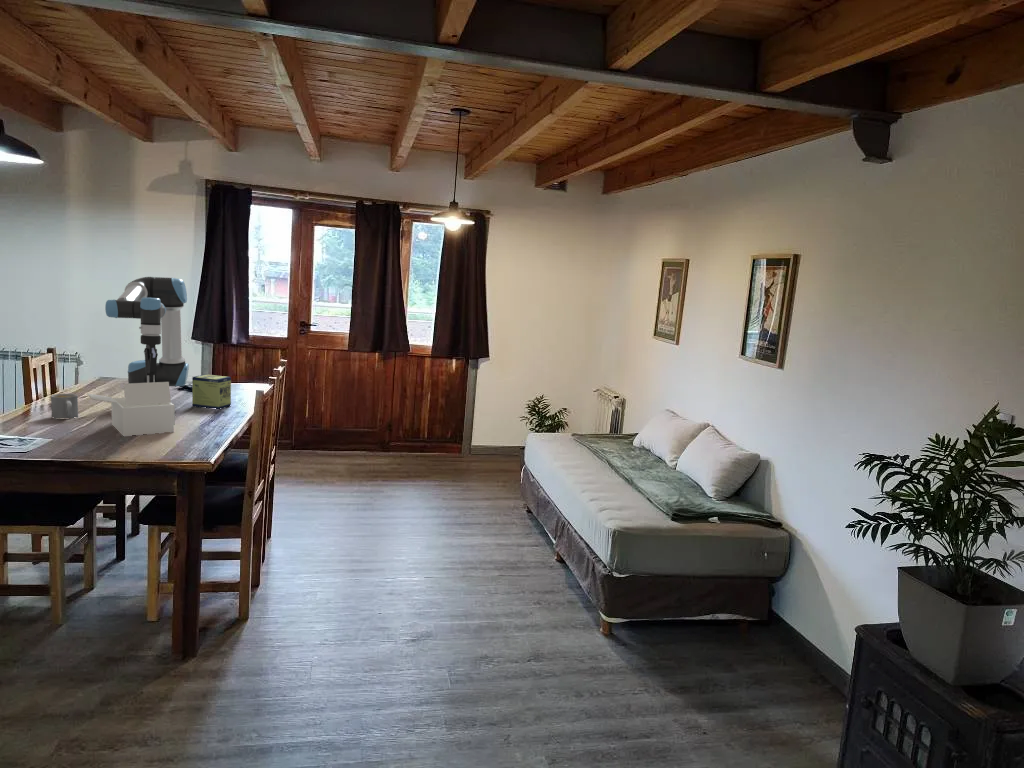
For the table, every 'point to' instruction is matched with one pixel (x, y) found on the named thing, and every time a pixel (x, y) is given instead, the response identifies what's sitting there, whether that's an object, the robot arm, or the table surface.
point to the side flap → (102, 398)
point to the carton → (142, 418)
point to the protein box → (211, 391)
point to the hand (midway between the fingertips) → (150, 390)
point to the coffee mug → (64, 405)
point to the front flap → (147, 393)
